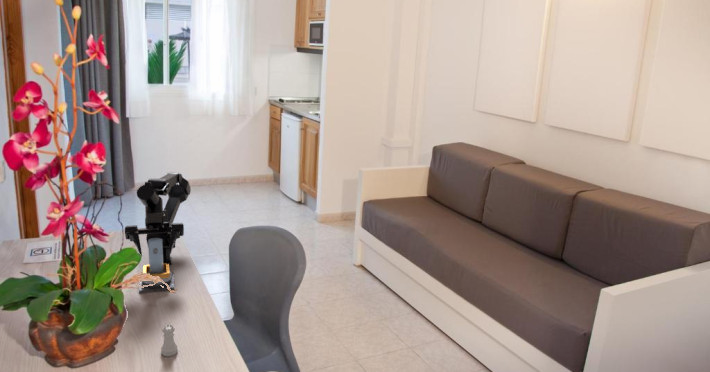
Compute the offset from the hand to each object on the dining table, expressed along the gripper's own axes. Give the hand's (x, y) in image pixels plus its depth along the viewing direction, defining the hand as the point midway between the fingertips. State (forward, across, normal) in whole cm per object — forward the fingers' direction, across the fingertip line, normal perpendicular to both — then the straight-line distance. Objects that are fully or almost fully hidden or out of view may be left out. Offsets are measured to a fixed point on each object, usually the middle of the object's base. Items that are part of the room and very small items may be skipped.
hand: (155, 254), depth 191 cm
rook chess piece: (+37, +3, -21) cm, 43 cm away
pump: (+4, 0, +6) cm, 8 cm away
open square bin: (+7, 0, +9) cm, 12 cm away
